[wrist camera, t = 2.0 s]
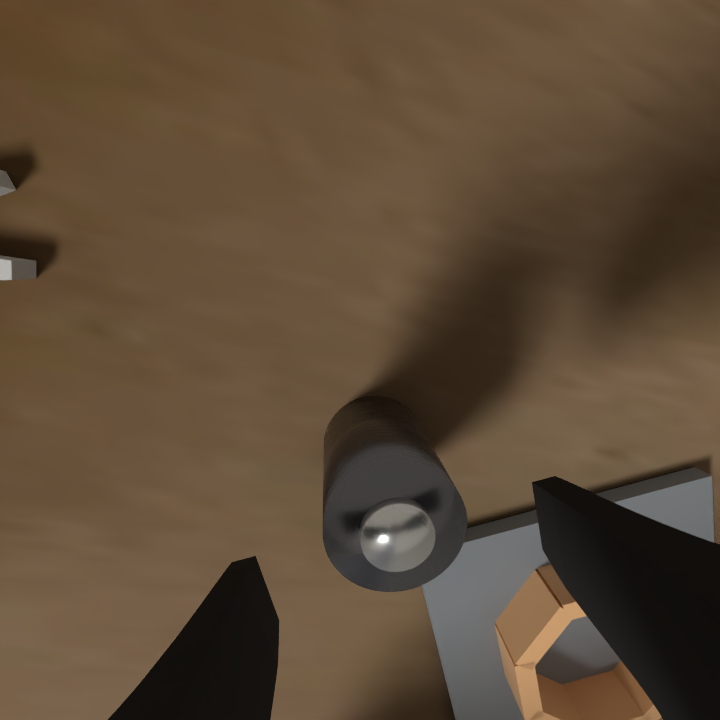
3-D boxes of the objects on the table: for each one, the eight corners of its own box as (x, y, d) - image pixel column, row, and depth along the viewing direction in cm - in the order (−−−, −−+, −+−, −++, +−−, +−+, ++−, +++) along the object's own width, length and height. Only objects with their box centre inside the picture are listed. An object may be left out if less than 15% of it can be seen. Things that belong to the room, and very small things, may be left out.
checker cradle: (460, 741, 21) (480, 812, 18) (411, 543, 18) (426, 593, 15) (704, 672, 21) (760, 733, 18) (695, 466, 18) (760, 502, 15)
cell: (338, 498, 17) (344, 619, 11) (312, 411, 16) (304, 494, 10) (430, 473, 17) (483, 581, 11) (410, 385, 16) (457, 453, 10)
